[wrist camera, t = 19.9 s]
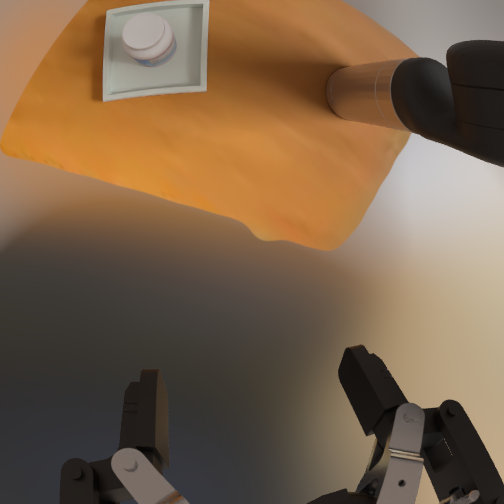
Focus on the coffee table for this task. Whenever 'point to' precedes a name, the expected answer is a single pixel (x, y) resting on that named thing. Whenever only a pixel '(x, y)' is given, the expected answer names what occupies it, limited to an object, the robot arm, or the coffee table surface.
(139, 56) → the pill bottle
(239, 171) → the coffee table surface
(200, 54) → the tray
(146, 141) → the coffee table surface
